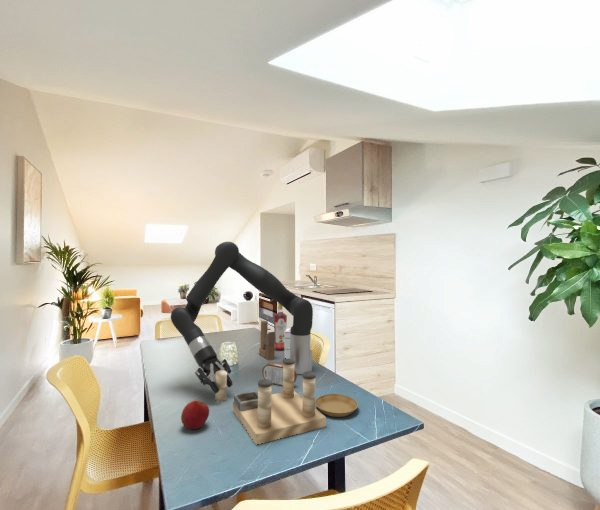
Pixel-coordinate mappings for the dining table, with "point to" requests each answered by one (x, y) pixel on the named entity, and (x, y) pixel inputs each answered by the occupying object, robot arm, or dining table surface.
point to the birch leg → (221, 385)
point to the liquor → (279, 328)
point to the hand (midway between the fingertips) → (224, 388)
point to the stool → (279, 408)
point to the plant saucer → (336, 405)
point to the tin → (275, 373)
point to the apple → (194, 414)
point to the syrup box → (287, 343)
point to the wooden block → (267, 342)
